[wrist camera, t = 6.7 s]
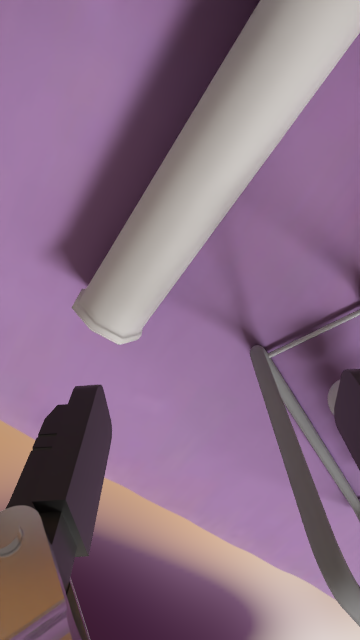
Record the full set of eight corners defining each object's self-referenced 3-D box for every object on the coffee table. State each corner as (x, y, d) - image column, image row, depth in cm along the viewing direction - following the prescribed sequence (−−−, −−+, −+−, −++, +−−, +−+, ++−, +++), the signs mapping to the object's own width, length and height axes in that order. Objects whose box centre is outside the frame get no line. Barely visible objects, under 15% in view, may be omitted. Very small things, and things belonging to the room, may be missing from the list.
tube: (358, -221, 12) (57, 304, 22) (477, -126, 12) (122, 355, 22) (333, -100, 17) (96, 285, 27) (418, -32, 17) (149, 327, 27)
